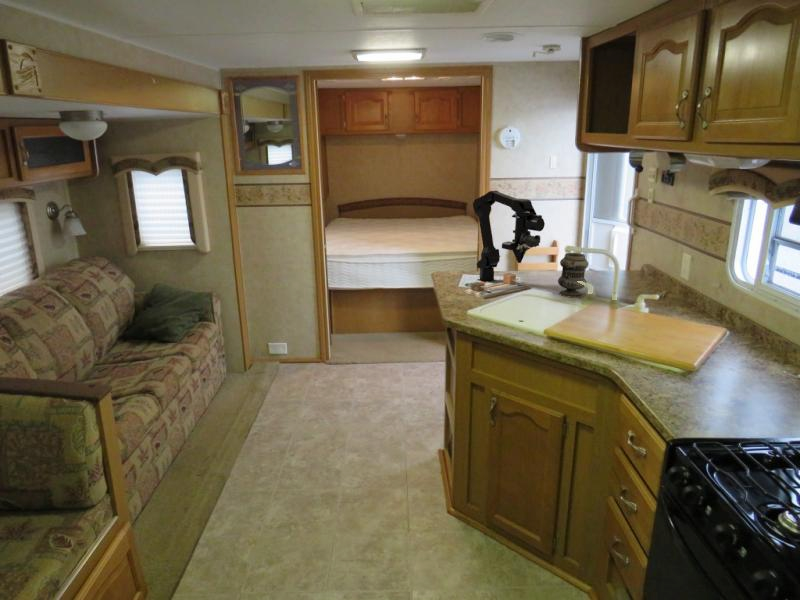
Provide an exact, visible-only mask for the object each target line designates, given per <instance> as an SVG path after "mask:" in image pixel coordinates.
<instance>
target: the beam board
mask: <svg viewBox="0 0 800 600" xmlns="http://www.w3.org/2000/svg"><path fill="white" fill-rule="evenodd" d="M484 287H487V288H490V290H487V289H484V290H482V291H478V292H477V291H474V290H471V288H469V289H464V293H465V294H469V295H470V296H475V297H478V298H481V299H488V298H492V297H495V296H501V295H505V294H510V293H514V292H517V291H516V290H518V291H522V290H521V289H523V290H525V288H527V289H530V288H531V285H529V284H526V283H523V282H522V283H520V282H515V283H513V284H507V283H503V281H501V282H497V283H493V284H487V285H484ZM529 287H530V288H529ZM513 291H514V292H513Z"/></svg>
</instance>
